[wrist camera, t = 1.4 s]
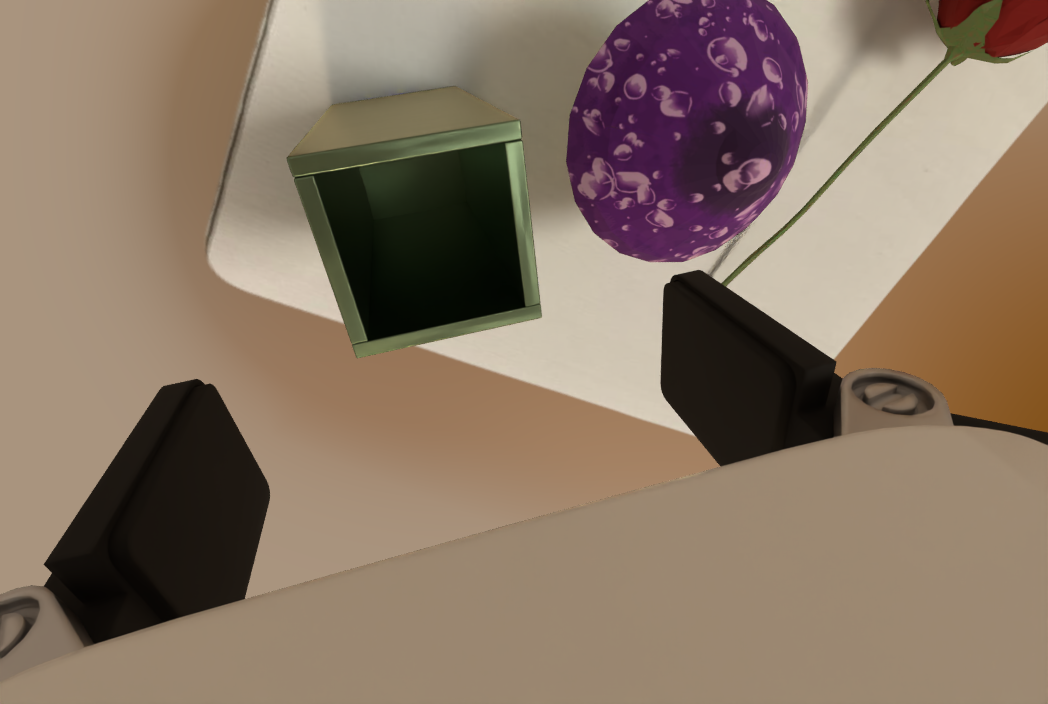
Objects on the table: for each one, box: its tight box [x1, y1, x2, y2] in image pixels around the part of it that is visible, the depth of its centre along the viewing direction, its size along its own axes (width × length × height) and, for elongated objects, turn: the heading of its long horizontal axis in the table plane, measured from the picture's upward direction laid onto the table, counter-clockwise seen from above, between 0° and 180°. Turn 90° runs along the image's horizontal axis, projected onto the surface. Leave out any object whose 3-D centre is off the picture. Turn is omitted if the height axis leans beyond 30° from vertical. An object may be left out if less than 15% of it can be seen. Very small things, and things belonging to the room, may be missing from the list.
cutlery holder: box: [287, 86, 542, 358], centre depth 24 cm, size 7×7×16 cm
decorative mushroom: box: [566, 0, 808, 262], centre depth 26 cm, size 12×12×15 cm
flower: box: [721, 0, 1048, 287], centre depth 34 cm, size 11×10×30 cm
